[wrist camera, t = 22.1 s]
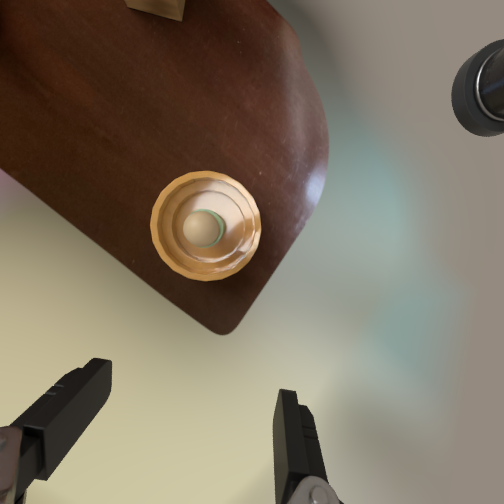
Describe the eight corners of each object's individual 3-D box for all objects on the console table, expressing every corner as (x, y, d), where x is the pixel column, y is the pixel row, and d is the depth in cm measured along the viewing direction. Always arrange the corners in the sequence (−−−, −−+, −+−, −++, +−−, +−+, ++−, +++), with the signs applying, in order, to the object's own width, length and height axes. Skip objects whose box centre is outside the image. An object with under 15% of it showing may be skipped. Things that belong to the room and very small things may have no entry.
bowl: (266, 189, 36) (271, 184, 31) (247, 280, 37) (249, 289, 32) (171, 168, 35) (160, 159, 30) (155, 263, 36) (142, 269, 31)
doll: (228, 215, 36) (225, 212, 25) (222, 245, 36) (216, 255, 25) (197, 208, 35) (180, 202, 24) (191, 239, 36) (173, 246, 25)
